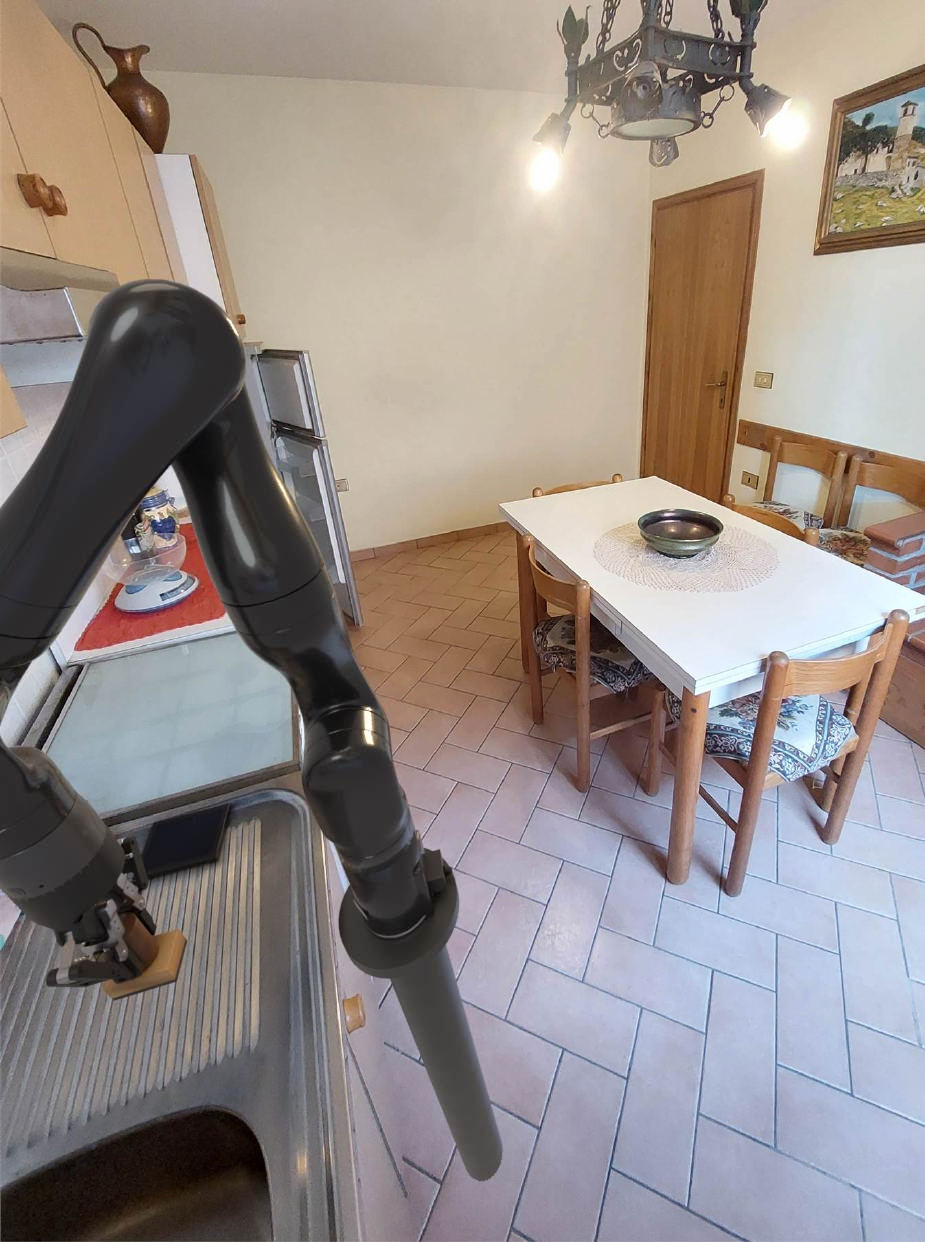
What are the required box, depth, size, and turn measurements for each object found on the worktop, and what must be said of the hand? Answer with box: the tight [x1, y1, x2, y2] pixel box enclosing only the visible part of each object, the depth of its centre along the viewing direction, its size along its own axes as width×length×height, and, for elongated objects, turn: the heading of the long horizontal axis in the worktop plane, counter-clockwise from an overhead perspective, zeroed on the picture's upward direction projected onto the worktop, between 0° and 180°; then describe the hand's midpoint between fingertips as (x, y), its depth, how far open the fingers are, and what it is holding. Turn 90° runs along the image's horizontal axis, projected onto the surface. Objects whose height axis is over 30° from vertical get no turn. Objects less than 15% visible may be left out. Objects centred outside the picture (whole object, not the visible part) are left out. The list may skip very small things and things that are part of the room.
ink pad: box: [131, 803, 232, 881], centre depth 81 cm, size 11×9×1 cm
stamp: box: [102, 912, 188, 1001], centre depth 56 cm, size 6×4×8 cm, turn 103°
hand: (139, 953), depth 56 cm, fingers closed on stamp, 3 cm apart
